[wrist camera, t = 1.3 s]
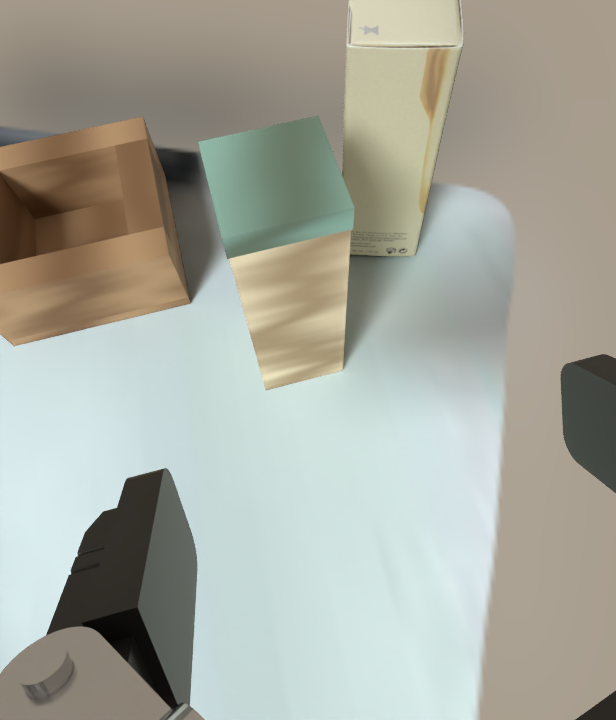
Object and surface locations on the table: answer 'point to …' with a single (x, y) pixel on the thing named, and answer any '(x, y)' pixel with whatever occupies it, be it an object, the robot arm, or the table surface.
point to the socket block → (85, 232)
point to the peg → (285, 243)
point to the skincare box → (396, 114)
